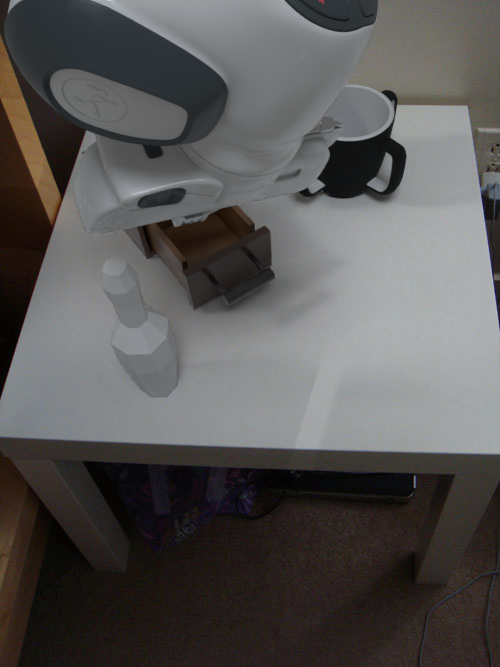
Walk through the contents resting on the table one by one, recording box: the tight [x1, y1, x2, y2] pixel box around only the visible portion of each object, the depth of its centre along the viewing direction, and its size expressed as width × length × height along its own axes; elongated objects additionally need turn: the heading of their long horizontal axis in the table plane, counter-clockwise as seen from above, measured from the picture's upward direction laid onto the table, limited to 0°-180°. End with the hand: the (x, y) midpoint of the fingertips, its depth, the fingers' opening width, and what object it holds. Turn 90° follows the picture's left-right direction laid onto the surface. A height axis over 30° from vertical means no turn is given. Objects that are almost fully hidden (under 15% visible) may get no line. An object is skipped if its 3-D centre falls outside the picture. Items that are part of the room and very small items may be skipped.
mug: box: [298, 83, 408, 198], centre depth 86 cm, size 16×16×12 cm
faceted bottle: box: [101, 256, 179, 398], centre depth 64 cm, size 6×6×22 cm
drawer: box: [143, 205, 276, 310], centre depth 79 cm, size 19×12×7 cm, turn 34°
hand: (186, 216), depth 54 cm, fingers closed
